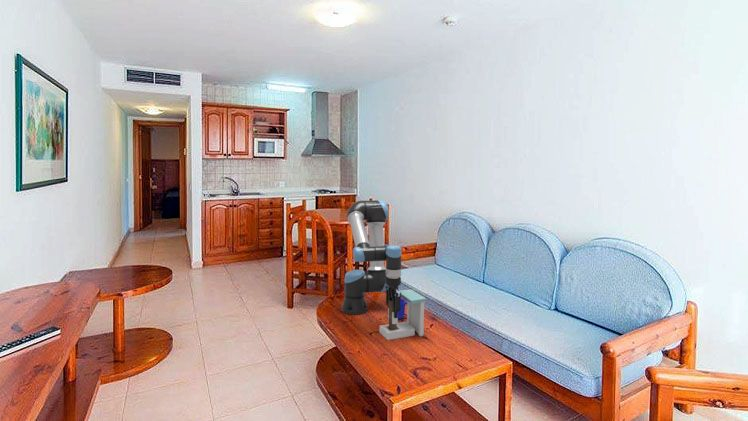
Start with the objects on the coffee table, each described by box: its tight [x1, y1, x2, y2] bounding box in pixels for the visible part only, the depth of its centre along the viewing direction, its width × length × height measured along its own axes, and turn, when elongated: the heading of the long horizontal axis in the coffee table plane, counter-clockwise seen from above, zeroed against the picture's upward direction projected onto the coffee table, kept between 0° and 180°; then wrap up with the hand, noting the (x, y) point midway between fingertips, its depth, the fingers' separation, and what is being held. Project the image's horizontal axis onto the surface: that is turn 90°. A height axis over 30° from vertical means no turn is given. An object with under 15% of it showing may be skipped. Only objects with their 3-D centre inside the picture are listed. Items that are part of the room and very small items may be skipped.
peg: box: [388, 300, 397, 330], centre depth 201 cm, size 4×4×14 cm
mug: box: [398, 298, 407, 320], centre depth 223 cm, size 8×12×10 cm
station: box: [379, 288, 427, 341], centre depth 203 cm, size 16×20×20 cm
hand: (392, 321), depth 201 cm, fingers closed on peg, 4 cm apart
